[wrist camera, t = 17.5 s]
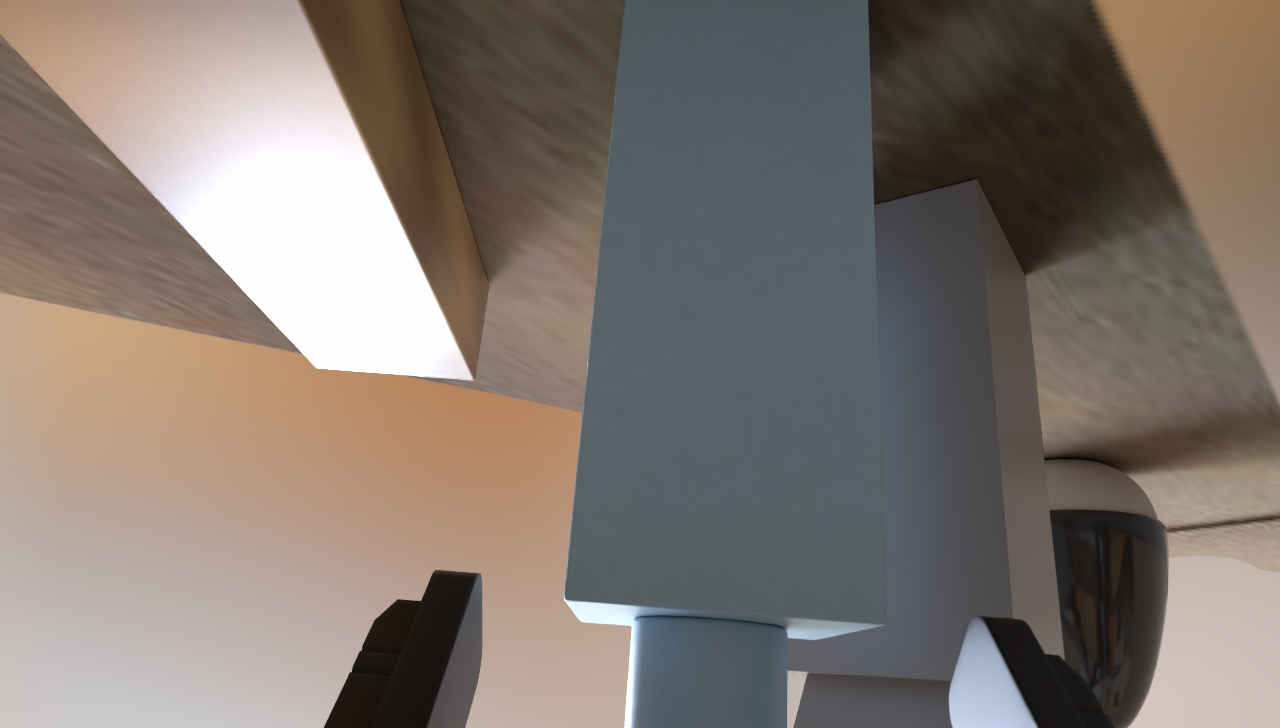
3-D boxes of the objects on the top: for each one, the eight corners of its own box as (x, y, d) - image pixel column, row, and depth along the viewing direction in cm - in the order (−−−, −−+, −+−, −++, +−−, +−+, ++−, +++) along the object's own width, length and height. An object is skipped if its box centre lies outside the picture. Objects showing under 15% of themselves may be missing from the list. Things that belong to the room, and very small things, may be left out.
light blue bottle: (627, 110, 22) (628, -42, 17) (816, 124, 22) (867, -26, 17) (556, 867, 16) (527, 945, 11) (817, 888, 16) (898, 975, 11)
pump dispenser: (1085, 435, 45) (1122, 746, 39) (1192, 471, 49) (1239, 753, 44) (932, 467, 53) (946, 728, 48) (1037, 495, 58) (1060, 735, 52)
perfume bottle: (1025, 276, 29) (1086, 873, 23) (839, 311, 33) (846, 832, 26) (976, 179, 24) (1038, 915, 17) (762, 233, 28) (747, 857, 21)
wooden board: (-125, -410, 12) (-248, -224, 11) (284, -377, 12) (214, -187, 11) (337, 273, 33) (315, 368, 31) (490, 285, 33) (474, 381, 31)
